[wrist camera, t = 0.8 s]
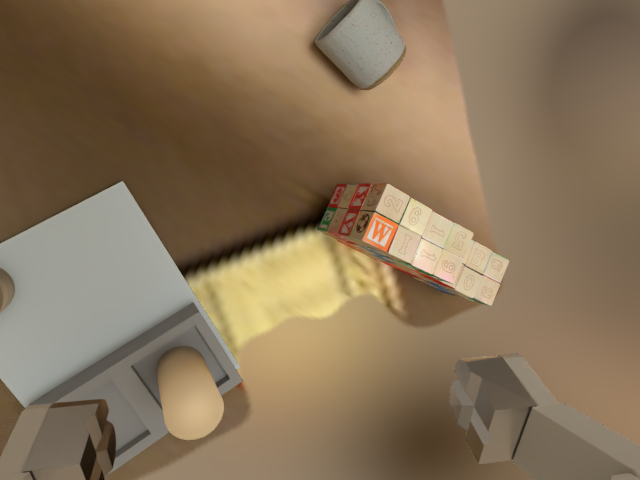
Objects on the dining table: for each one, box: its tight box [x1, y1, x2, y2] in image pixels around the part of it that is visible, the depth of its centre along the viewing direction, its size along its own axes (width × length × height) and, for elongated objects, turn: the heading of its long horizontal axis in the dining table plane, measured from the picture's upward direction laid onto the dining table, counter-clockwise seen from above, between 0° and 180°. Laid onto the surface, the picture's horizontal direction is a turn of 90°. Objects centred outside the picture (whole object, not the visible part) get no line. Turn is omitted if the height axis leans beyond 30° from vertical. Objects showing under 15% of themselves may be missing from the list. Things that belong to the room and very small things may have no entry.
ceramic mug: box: [315, 0, 406, 90], centre depth 52 cm, size 11×8×8 cm
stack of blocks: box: [317, 183, 509, 306], centre depth 55 cm, size 21×6×12 cm, turn 64°
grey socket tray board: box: [0, 181, 243, 475], centre depth 41 cm, size 24×19×14 cm
